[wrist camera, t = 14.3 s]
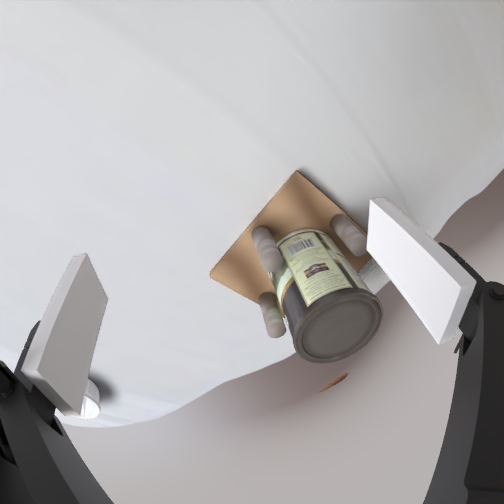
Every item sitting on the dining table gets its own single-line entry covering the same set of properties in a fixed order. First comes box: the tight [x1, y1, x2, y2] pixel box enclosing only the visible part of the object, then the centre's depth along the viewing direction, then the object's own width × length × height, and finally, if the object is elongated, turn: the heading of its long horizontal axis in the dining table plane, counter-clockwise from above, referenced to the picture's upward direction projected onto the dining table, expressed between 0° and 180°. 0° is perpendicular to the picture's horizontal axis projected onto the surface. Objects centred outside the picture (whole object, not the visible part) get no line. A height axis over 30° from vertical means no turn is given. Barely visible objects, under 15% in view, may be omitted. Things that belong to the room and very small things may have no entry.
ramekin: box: [75, 379, 101, 418], centre depth 49 cm, size 11×11×5 cm
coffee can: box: [268, 229, 383, 363], centre depth 37 cm, size 10×10×14 cm
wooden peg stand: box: [210, 171, 372, 338], centre depth 40 cm, size 18×18×8 cm
